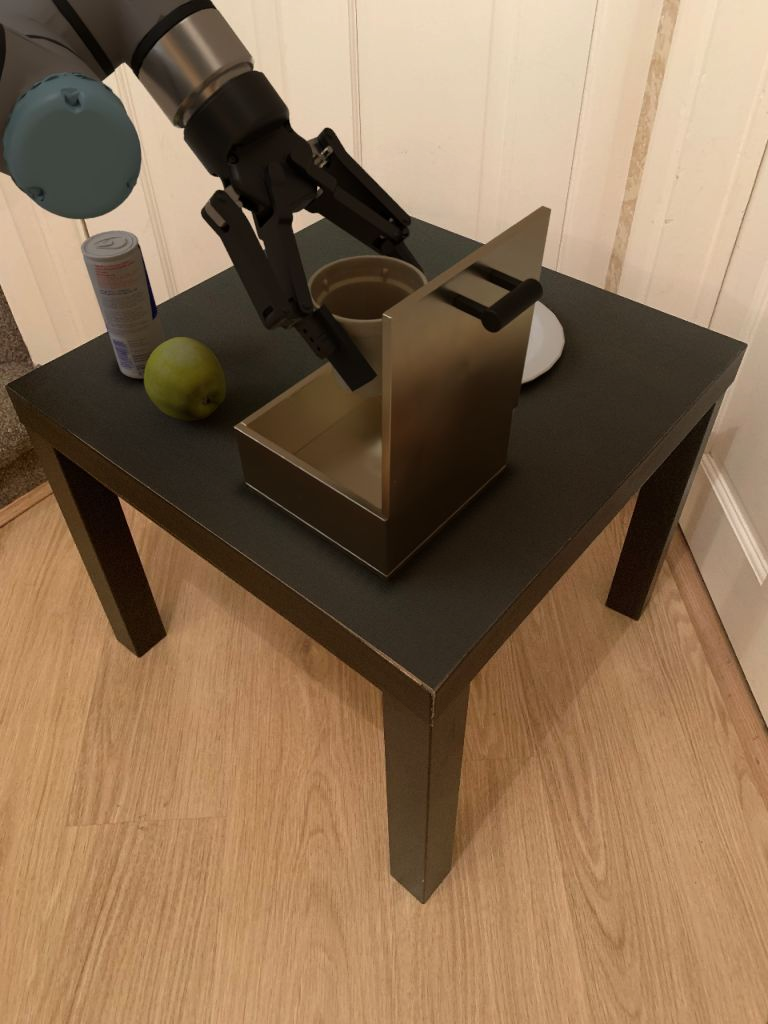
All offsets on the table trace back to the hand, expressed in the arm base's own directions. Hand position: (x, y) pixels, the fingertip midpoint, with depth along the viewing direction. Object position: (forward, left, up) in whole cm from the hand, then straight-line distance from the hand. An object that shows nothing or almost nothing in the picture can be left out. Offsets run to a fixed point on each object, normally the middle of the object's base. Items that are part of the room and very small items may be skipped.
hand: (401, 350), depth 63 cm
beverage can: (-33, -12, -16) cm, 38 cm away
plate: (-15, +20, -16) cm, 29 cm away
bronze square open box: (-3, -1, -16) cm, 16 cm away
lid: (+6, +1, +2) cm, 6 cm away
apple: (-23, -11, -16) cm, 30 cm away
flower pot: (-3, -1, -4) cm, 5 cm away
